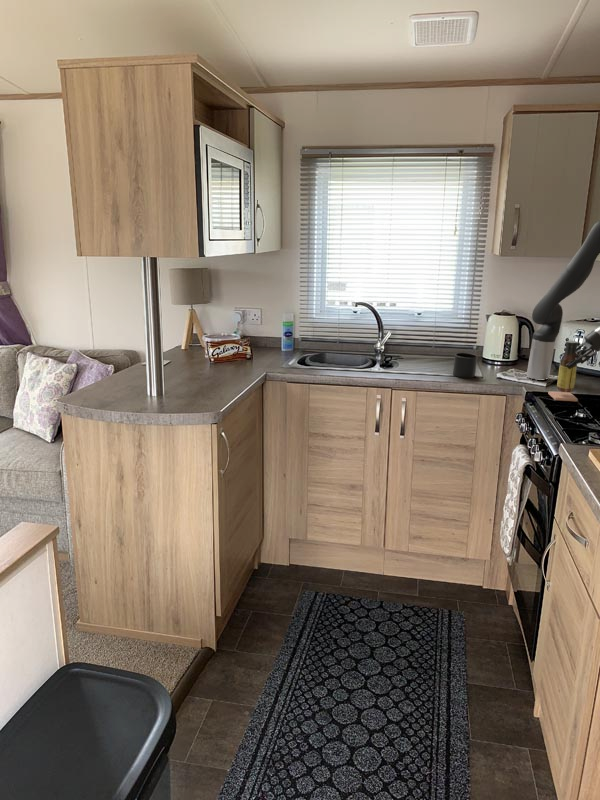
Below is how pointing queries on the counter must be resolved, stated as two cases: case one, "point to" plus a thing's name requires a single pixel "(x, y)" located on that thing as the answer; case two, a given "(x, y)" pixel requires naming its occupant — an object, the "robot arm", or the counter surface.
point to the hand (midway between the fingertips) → (564, 365)
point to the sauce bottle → (567, 375)
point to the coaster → (562, 396)
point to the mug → (465, 365)
